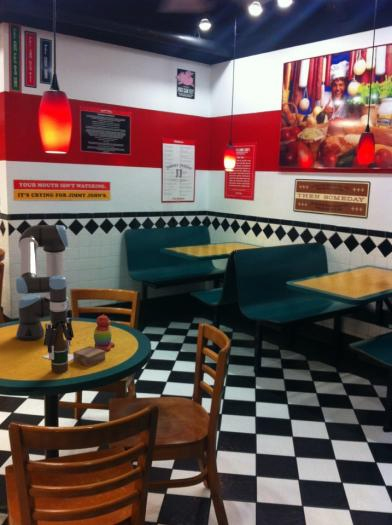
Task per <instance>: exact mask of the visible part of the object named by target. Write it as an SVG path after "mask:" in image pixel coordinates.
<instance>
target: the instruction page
mask: <svg viewBox="0 0 392 525" xmlns="http://www.w3.org/2000/svg"><path fill="white" fill-rule="evenodd" d="M42 358H43V359H48V360H50V359H49V353H48V354H46V355H43V356H42ZM72 361H73V353H70V354H68V363H70V362H72Z"/></svg>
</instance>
